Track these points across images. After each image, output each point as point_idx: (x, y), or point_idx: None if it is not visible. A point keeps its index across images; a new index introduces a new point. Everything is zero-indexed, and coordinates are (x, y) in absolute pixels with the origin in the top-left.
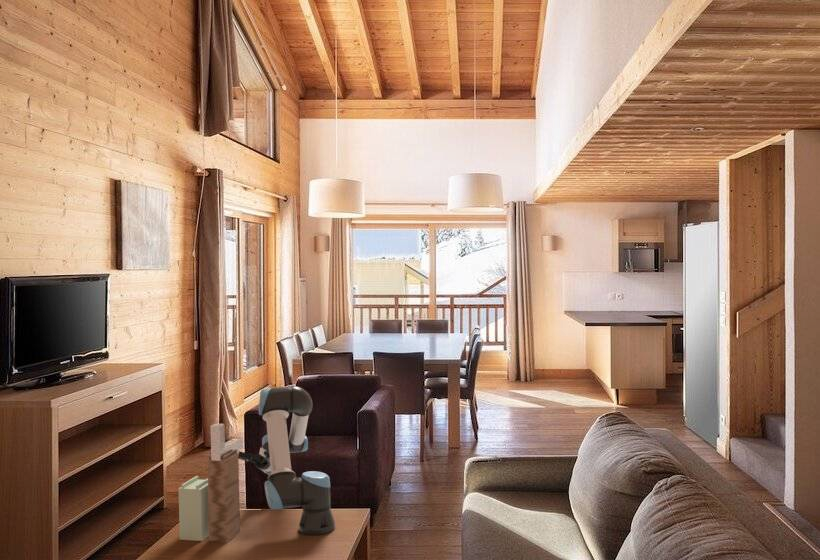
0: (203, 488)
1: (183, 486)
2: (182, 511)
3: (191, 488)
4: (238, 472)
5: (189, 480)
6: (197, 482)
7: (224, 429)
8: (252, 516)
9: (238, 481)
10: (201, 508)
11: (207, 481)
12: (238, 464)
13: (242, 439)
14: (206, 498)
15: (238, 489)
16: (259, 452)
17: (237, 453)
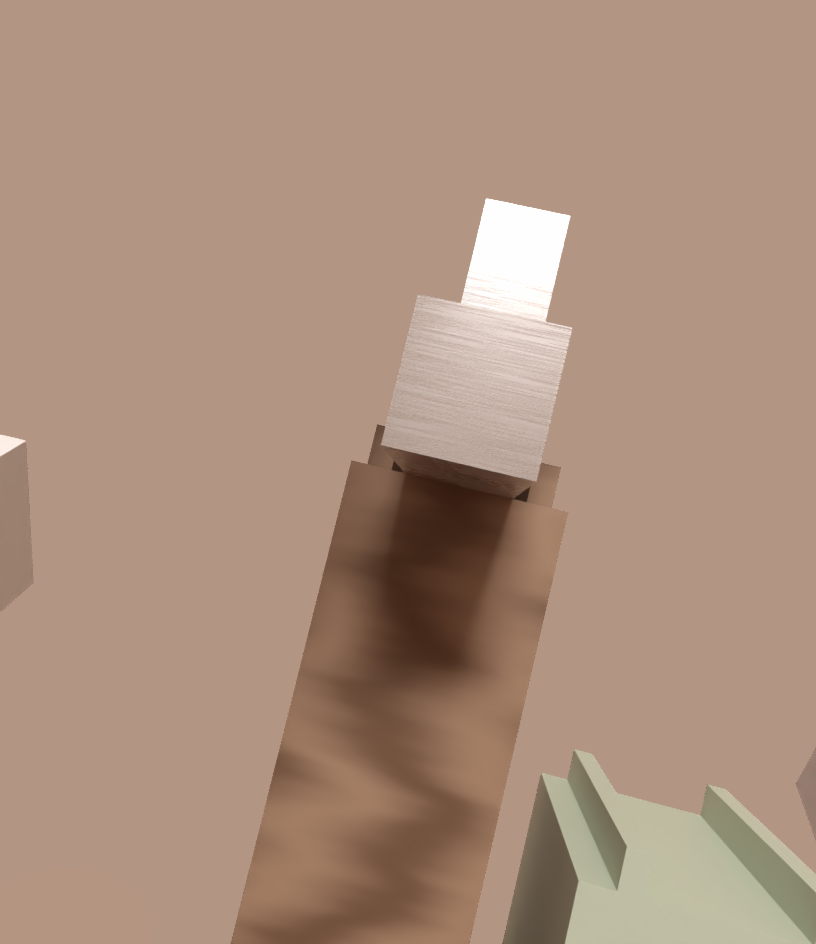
0: (544, 791)
1: (705, 799)
2: None
3: (635, 801)
4: (297, 678)
5: (764, 831)
6: (721, 878)
7: (475, 245)
8: None
9: (273, 779)
10: (505, 934)
11: (599, 822)
12: (319, 589)
13: (415, 312)
14: (524, 921)
15: (251, 870)
16: (27, 556)
17: (355, 462)
